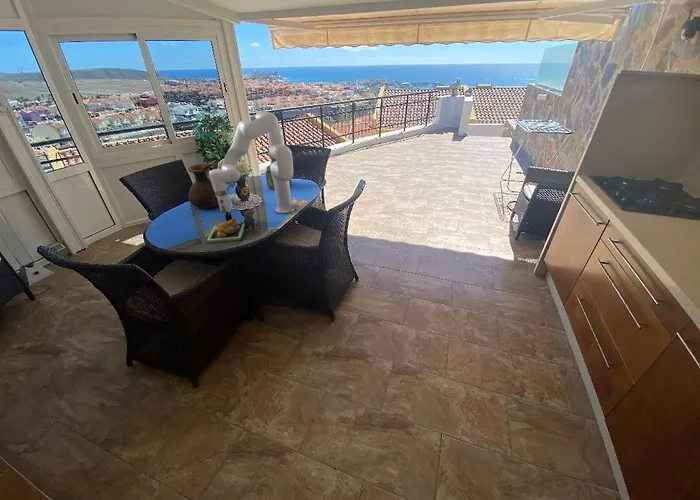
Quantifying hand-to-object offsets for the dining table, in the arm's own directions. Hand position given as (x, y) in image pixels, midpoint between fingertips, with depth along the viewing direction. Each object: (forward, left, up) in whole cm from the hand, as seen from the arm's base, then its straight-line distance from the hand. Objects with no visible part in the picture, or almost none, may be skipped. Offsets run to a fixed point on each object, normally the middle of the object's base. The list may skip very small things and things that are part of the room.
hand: (229, 220), depth 175 cm
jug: (+21, -33, -3) cm, 39 cm away
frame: (0, +10, -3) cm, 10 cm away
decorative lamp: (-26, -60, -3) cm, 66 cm away
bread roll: (0, +11, -3) cm, 11 cm away
